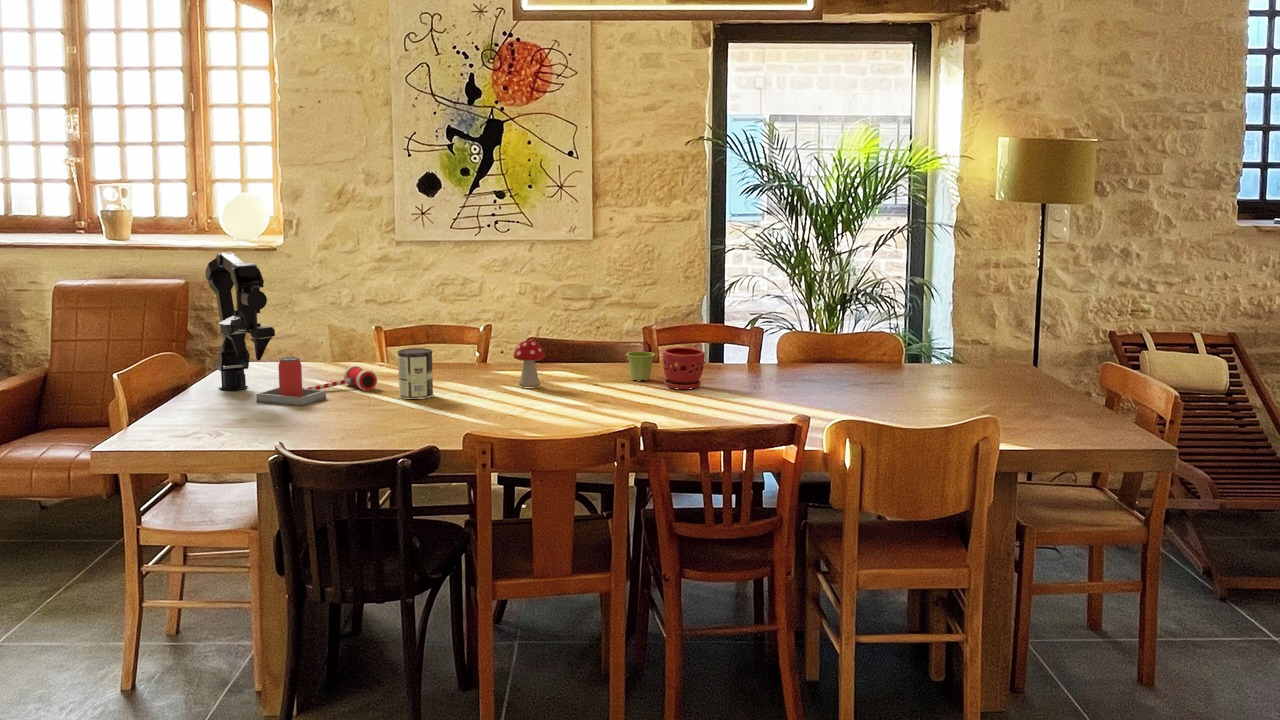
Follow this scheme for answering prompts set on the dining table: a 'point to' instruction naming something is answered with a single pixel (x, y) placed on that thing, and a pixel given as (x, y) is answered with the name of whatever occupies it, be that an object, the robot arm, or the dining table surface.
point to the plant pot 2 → (683, 367)
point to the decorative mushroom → (529, 362)
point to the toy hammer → (353, 379)
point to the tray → (291, 397)
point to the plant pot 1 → (640, 365)
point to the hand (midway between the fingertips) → (249, 358)
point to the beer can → (290, 377)
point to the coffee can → (415, 373)
